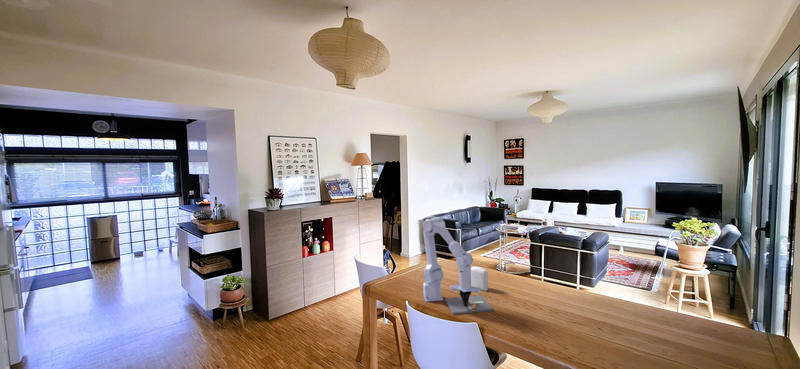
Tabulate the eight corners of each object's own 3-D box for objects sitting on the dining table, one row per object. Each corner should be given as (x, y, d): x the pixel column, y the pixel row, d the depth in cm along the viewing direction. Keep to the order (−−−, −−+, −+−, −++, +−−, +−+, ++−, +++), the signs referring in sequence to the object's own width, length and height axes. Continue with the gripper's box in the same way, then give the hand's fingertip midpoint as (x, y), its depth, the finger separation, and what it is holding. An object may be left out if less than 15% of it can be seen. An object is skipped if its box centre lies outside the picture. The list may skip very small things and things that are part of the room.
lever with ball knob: (461, 299, 163) (461, 294, 163) (471, 298, 163) (471, 294, 163) (469, 310, 150) (469, 305, 150) (479, 309, 151) (479, 304, 151)
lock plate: (452, 314, 152) (452, 310, 152) (445, 300, 168) (445, 296, 168) (493, 310, 154) (493, 306, 154) (481, 297, 170) (481, 293, 170)
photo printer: (470, 286, 184) (469, 266, 184) (474, 284, 187) (473, 264, 186) (484, 291, 176) (484, 270, 176) (489, 289, 179) (488, 268, 178)
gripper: (448, 280, 153) (449, 307, 154) (479, 283, 148) (480, 311, 149) (451, 275, 159) (452, 301, 160) (481, 277, 154) (481, 304, 155)
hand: (466, 305), depth 155 cm, fingers closed
